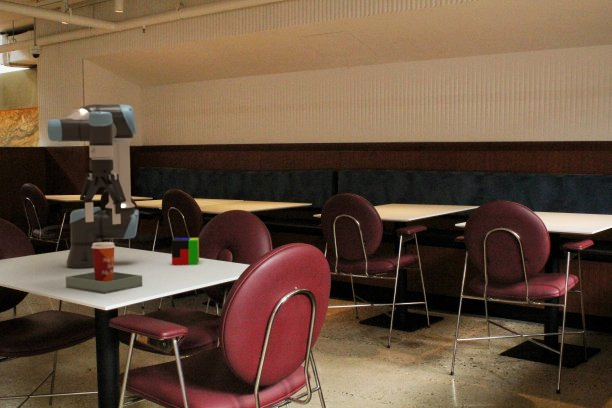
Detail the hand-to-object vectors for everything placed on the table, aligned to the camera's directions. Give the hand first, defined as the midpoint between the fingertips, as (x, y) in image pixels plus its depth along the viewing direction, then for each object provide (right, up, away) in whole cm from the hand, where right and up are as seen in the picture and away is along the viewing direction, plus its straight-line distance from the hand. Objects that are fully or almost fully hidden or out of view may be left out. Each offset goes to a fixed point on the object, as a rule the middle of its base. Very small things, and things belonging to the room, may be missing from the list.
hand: (102, 222), depth 227 cm
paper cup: (0, -21, +1) cm, 21 cm away
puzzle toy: (+18, -18, +52) cm, 58 cm away
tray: (0, -21, +1) cm, 21 cm away
